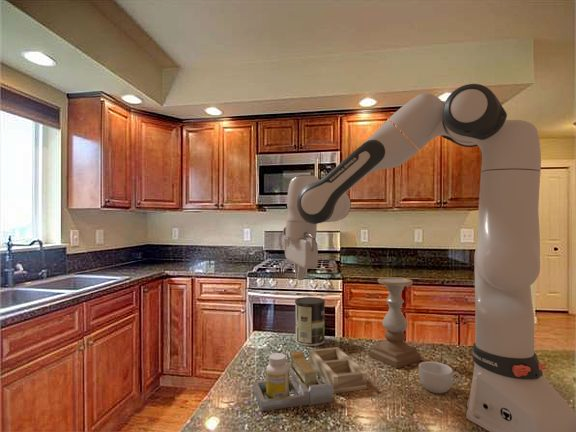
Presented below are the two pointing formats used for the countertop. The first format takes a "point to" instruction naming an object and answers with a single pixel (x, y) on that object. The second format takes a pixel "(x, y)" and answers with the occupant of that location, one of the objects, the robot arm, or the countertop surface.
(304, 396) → the socket block
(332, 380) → the box
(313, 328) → the coffee can
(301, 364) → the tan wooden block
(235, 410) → the countertop surface
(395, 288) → the candle holder
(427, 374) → the teacup
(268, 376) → the supplement bottle
